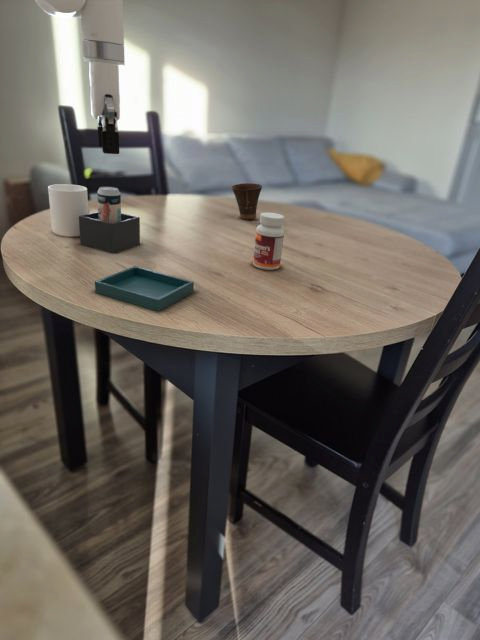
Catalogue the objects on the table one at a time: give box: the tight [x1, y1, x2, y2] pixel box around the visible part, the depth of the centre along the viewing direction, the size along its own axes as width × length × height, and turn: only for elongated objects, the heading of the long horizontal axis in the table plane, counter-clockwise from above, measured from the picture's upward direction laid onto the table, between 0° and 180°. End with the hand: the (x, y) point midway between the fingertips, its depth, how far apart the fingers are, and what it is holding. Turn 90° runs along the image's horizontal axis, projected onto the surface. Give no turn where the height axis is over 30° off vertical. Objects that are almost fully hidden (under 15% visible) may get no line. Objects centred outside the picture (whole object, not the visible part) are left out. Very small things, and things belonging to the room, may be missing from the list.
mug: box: [47, 183, 90, 238], centre depth 113 cm, size 12×8×10 cm
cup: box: [231, 182, 263, 221], centre depth 144 cm, size 9×9×10 cm
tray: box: [94, 265, 195, 312], centre depth 86 cm, size 13×11×2 cm
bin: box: [79, 211, 141, 254], centre depth 108 cm, size 9×9×6 cm
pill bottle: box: [252, 212, 285, 271], centre depth 105 cm, size 6×6×11 cm
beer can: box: [96, 186, 122, 223], centre depth 106 cm, size 5×5×12 cm
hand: (108, 150), depth 100 cm, fingers open, 9 cm apart
